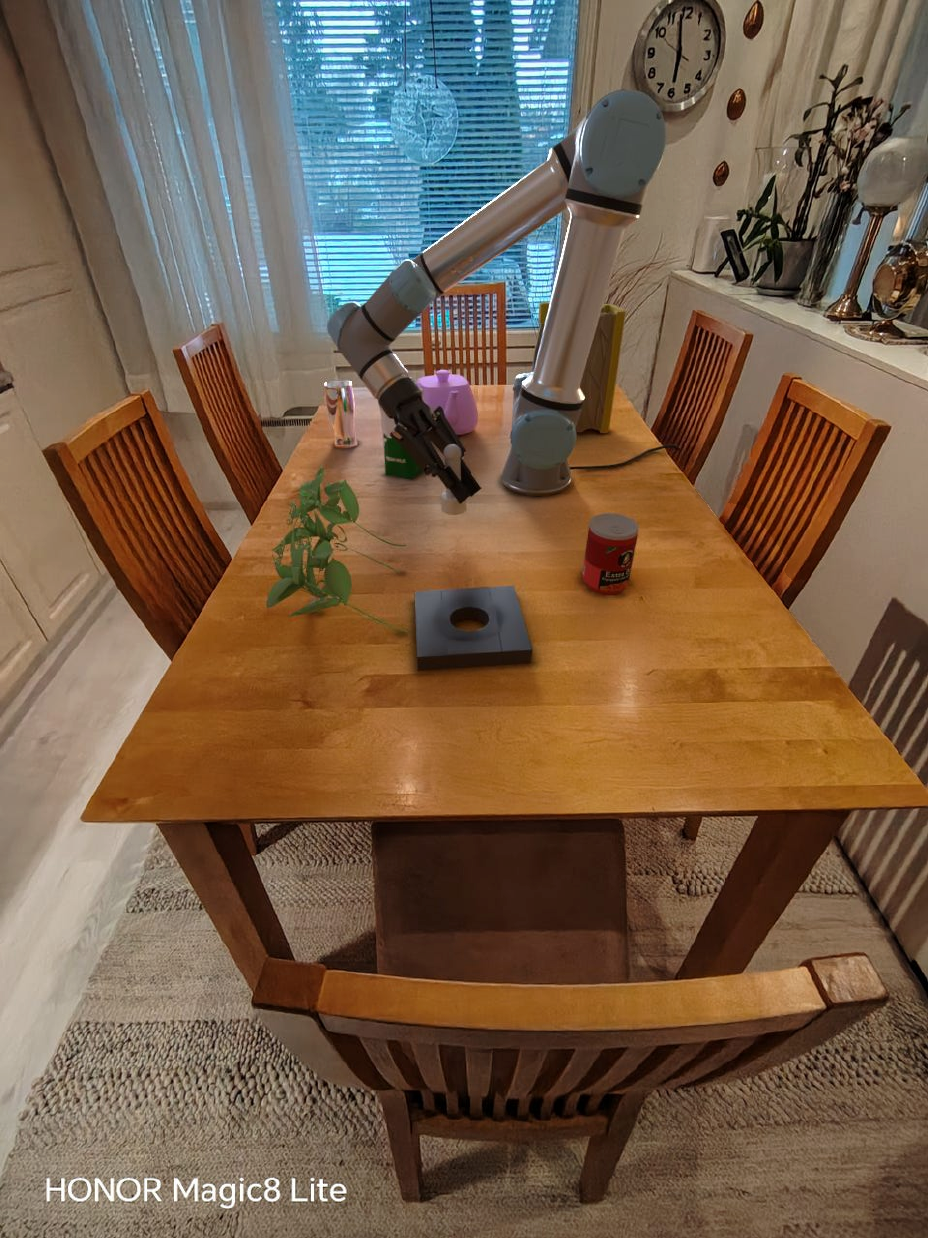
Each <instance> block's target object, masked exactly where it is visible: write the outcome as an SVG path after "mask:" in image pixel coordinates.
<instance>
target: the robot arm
mask: <svg viewBox="0 0 928 1238" xmlns="http://www.w3.org/2000/svg"><path fill="white" fill-rule="evenodd" d="M666 144H667V127H666V122H665V118H664V115H663V113H662V111H661V109H660V107H659V105H658V104H657V102H656V101H655V100H654V99H653V98H652V97H651V96H649V95H648V94H646V93H645V92H643V91H640V90H636V89H627V88H621V89H616V90H614V91H611V92H608V93H606V94H605V95H604V96H603V97H600V99H598V100H597V101H596V102H595V104H594V105H592V107H591V109H590V110H589V111H588V113H587V114H585V116H584V118H583V119H582V120H580V122H579V123H578V124H577V125H576V126H575V128H573V130H571V132H569V133H568V134H567V135H566V136H565V137H564V138H563V139H562V140H560V141H559V142H557V143H556V144H555V145H554V146H553V147H551V148H550V149H549V154H548V157H547V159H546V160H545V161H544V162H542V163H541V164H540V165H539V166H537V167H536V168H535V169H533V170H532V171H530V172H529V173H527V174H526V175H525V176H524V177H522V178H521V179H520V180H518V181H517V182H516V183H514V184H513V185H511V186H510V187H509V188H507V189H506V190H505V191H503V192H502V193H500V194H499V195H498V196H497V197H495V198H494V199H493V200H492V201H490V202H488V203H487V204H486V205H484V206H483V207H481V209H479V210H478V211H476V212H475V213H474V214H472V215H471V216H470V217H468V218H467V219H465V220H464V221H463V222H461V223H460V224H459V225H457V226H456V227H455V228H453V229H452V230H450V231H449V232H448V233H446V234H445V235H443V236H442V237H441V238H440V239H439V240H437V241H436V242H434V243H433V244H432V245H430V246H429V247H428V248H427V249H424V251H423V252H421V253H420V254H418V255H417V256H415V257H413V259H404V260H403V261H402V262H401V263H400V264H399V265H397V267H395V268H394V269H393V270H392V271H391V272H390V273H389V275H388V276H387V277H386V279H384V281H383V282H382V283H381V284H380V285H379V287H378V288H377V289H376V290H375V291H374V292H373V294H372V295H370V296H369V299H368V300H366V301H365V302H364V303H363V304H362V305H360V304H359V303H358V302H357V301H349V302H346V303H344V304H342V305H341V306H340V307H338V309H335V311H333V312H332V314H331V315H330V317H329V318H328V321H327V325H326V330H327V332H328V335H329V336H330V338H331V340H332V341H333V343H334V344H335V346H336V348H337V350H338V351H339V353H340V354H341V355H342V356H343V357H344V359H345V360H346V361H347V363H348V364H349V365H350V367H351V368H352V369H353V370H354V372H355V373H356V375H357V376H358V378H359V379H360V380H361V382H362V383H363V384H364V386H365V387H366V388H367V390H368V391H369V392H370V394H371V395H372V397H373V399H375V400H377V399H378V400H379V401H377V404H378V406H379V405H380V407H381V408H382V409H383V411H384V412H385V414H386V415H387V416H388V418H390V419H394V422H395V425H396V426H395V428H394V429H393V430H392V432H391V433H390V436H391V437H392V438H393V439H394V440H396V441H397V442H398V443H400V445H401V446H402V447H403V448H404V449H405V451H406V452H407V453H408V454H409V455H410V457H411V458H412V459H413V460H414V461H415V463H416V464H417V465H418V466H419V467H420V469H421V470H422V471H421V472H423V474H424V475H426V476H427V477H428V476H430V477H432V478H436V477H438V479H439V480H440V481H441V483H442V485H443V486H444V487H445V489H446V488H447V489H449V490H450V491H451V492H452V494H453V495H454V496H455V498H456V499H457V501H458V502H459V503H460V504H461V503H463V502H464V501H465V500H466V499H467V500H468V499H469V498H472V497H473V496H475V495H476V494H477V493H478V492H479V491H480V490H482V487H481V485H480V484H479V482H478V481H477V480H476V478H475V477H474V475H473V473H472V471H471V469H470V468H469V466H468V465H467V464H466V462H465V460H464V459H463V458H464V457H465V456H466V454H465V453H466V452H467V449H466V448H465V446H464V444H463V443H462V441H461V440H460V438H459V435H456V433H455V432H454V430H453V428H452V427H451V425H450V424H449V422H448V420H447V419H446V417H445V414H444V411H443V408H442V407H441V406H438V407H437V408H436V409H432V408H430V407H429V406H428V405H427V404H426V403H425V402H424V401H423V400H422V392H421V390H420V389H419V387H418V386H417V384H416V383H417V382H415V380H414V378H413V377H411V376H409V371H408V370H407V369H406V367H405V366H404V365H403V363H402V362H401V361H400V359H399V357H398V356H397V355H396V354H395V352H394V351H393V350H392V348H391V346H390V345H391V344H392V343H394V341H396V340H397V339H398V337H399V336H400V335H401V334H402V333H403V332H404V331H405V330H407V329H408V327H409V326H410V325H411V324H412V323H413V322H414V321H415V320H416V319H417V318H418V317H420V315H421V314H423V313H424V312H426V310H427V308H428V307H429V305H430V304H431V303H433V302H434V301H435V300H437V299H439V298H440V297H441V296H442V295H443V294H445V293H447V292H448V291H449V290H451V289H452V288H453V287H455V286H457V285H458V284H459V283H461V282H462V281H464V280H465V279H467V278H469V276H471V275H473V274H474V273H475V272H477V271H479V270H480V269H481V268H483V267H485V265H487V264H488V263H490V262H492V261H494V259H495V258H497V257H499V256H500V255H501V254H503V253H504V252H506V251H507V250H509V249H511V248H512V247H513V246H515V245H516V244H517V243H519V242H521V241H522V240H523V239H525V238H526V237H527V236H529V235H530V234H533V232H535V231H536V230H538V229H539V228H540V227H542V226H544V225H545V224H546V223H547V222H549V221H551V220H552V219H554V218H555V217H557V216H558V215H560V214H561V213H563V212H564V211H565V210H567V209H568V211H569V214H570V219H569V222H568V223H569V224H568V227H567V232H566V234H565V240H564V244H563V248H562V251H561V256H560V260H559V265H558V269H557V272H556V276H555V281H554V285H553V290H552V293H551V297H550V301H549V302H550V306H549V310H548V314H547V318H546V322H545V326H544V331H543V335H542V339H541V343H540V347H539V351H538V355H537V360H536V364H535V368H534V372H532V371H531V372H523V373H520V374H517V375H516V376H515V378H514V380H513V381H514V382H513V387H512V391H513V395H512V396H513V399H512V417H511V418H512V419H511V431H510V435H509V439H510V445H511V446H510V450H509V452H508V455H507V458H506V461H505V463H504V466H503V469H502V472H501V473H502V474H501V484H502V485H503V486H504V488H506V489H507V490H509V491H511V492H513V493H515V494H519V495H522V496H530V497H547V496H548V497H549V496H553V495H558V494H560V493H563V492H565V491H567V489H569V488H570V486H571V483H572V470H574V471H575V470H598V469H600V470H601V469H612V468H619V467H622V466H626V465H628V464H630V463H632V462H634V461H637V460H639V459H641V458H642V457H644V456H645V455H647V454H649V453H652V452H656V451H659V450H663V449H669V448H672V449H675V450H676V451H679V452H680V451H682V449H681V448H680V447H679V446H678V445H676V444H664V445H659V446H656V447H653V448H649V449H647V450H645V451H643V452H641V453H640V454H638V455H635V456H634V457H632V458H630V459H628V460H625V461H623V462H618V463H613V464H603V465H577V466H576V465H573V466H570V464H569V458H570V456H571V455H572V454H573V452H574V450H575V447H576V443H577V436H578V434H577V432H576V426H577V423H578V419H579V416H580V412H581V409H582V406H583V402H584V399H585V396H584V394H583V392H582V390H581V389H580V382H581V379H582V376H583V372H584V369H585V365H586V362H587V358H588V355H589V352H590V348H591V345H592V341H593V338H594V334H595V331H596V327H597V324H598V321H599V317H600V314H601V310H602V307H603V304H605V300H606V297H607V292H608V289H609V286H610V283H611V279H612V276H613V272H614V270H615V265H616V261H617V258H618V256H619V251H620V248H621V244H622V241H623V238H624V235H625V231H626V229H627V228H628V227H629V226H630V225H631V224H633V223H634V222H635V221H637V220H638V219H639V218H640V215H641V213H642V210H643V206H644V203H645V199H646V196H647V192H648V189H649V186H650V182H651V181H652V180H653V178H654V176H655V175H656V173H657V172H658V170H659V168H660V166H661V163H662V161H663V158H664V155H665V151H666ZM378 402H379V403H378ZM431 427H432V428H431ZM430 428H431V429H430ZM429 429H430V430H429ZM428 430H429V431H428ZM450 444H455V445H457V446H458V447H459V448H460V449H461V458H460V462H461V481H460V480H459V478H458V477H457V475H456V474H455V473H454V471H453V470H452V468H451V467H450V466H448V467H446V468H445V462H444V461H443V459H442V457H441V456H440V454H439V453H438V451H439V452H440V453H441V454H442V455H443V456H444V449H445V448H446V446H448V445H450ZM437 450H438V451H437Z"/></svg>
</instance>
